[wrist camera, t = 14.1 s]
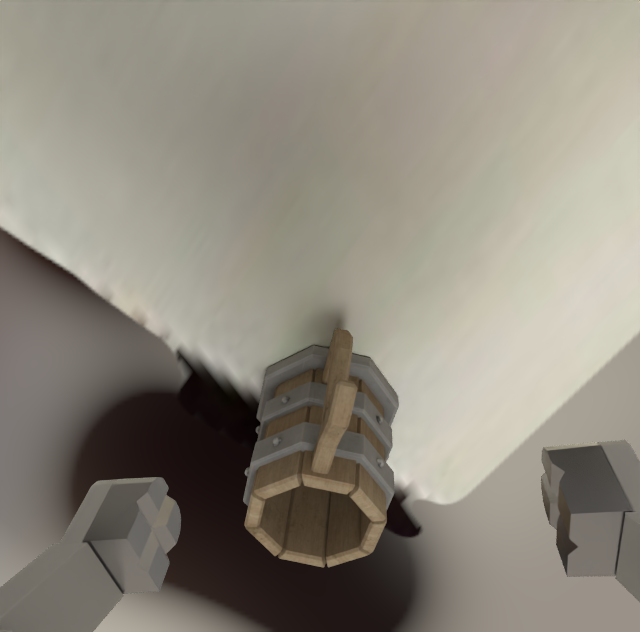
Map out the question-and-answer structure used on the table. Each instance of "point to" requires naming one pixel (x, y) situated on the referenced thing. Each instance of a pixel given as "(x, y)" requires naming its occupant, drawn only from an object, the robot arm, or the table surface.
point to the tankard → (322, 456)
